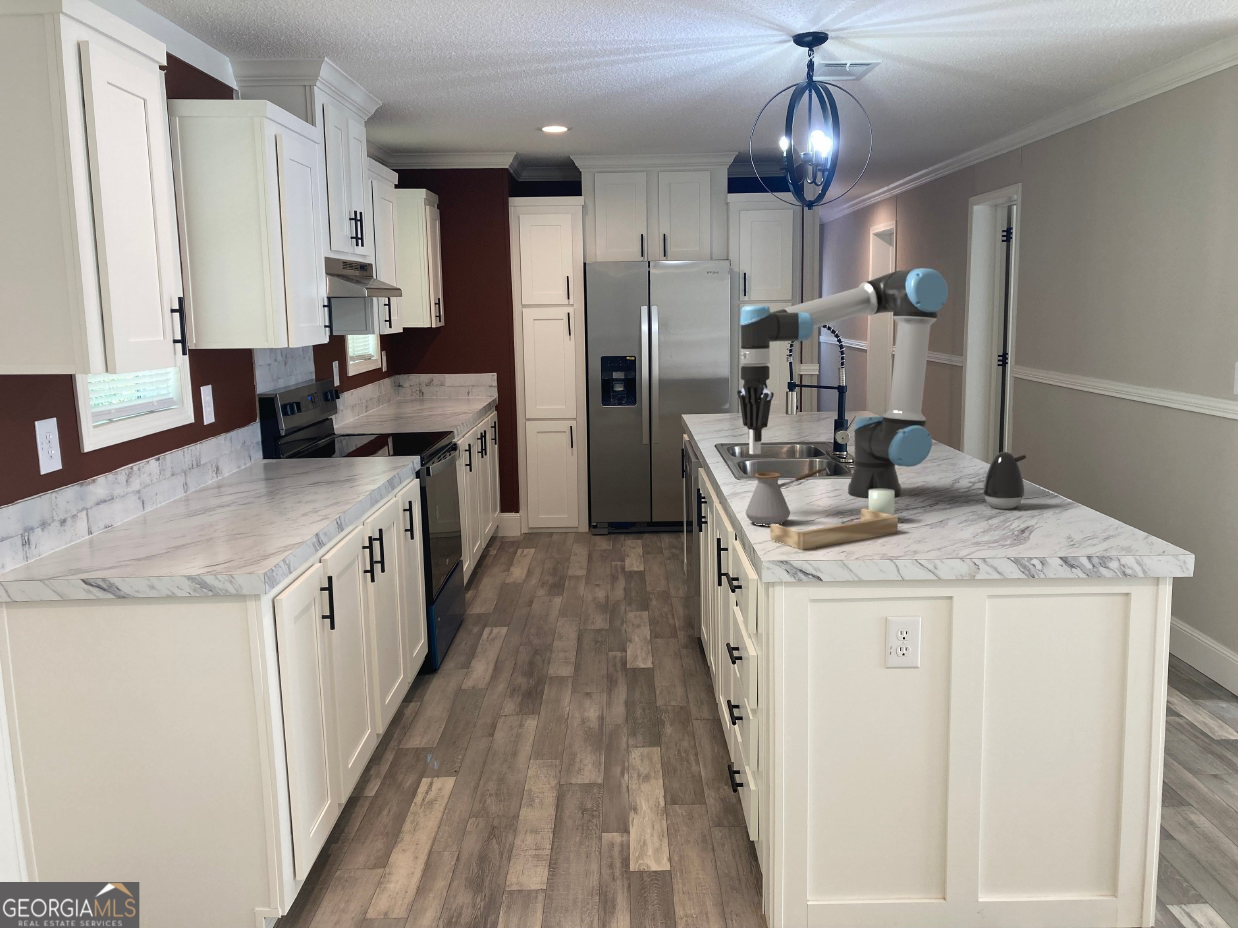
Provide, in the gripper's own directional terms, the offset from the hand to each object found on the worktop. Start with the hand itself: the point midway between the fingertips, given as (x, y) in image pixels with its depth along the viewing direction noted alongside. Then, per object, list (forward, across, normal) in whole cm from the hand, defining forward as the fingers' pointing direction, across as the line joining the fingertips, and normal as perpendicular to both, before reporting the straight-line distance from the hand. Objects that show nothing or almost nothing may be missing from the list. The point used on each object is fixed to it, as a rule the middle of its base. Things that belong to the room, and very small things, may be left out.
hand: (755, 453), depth 249 cm
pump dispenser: (+17, +32, +59) cm, 69 cm away
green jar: (+17, +25, +21) cm, 37 cm away
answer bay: (+17, +31, 0) cm, 35 cm away
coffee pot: (+17, +13, 0) cm, 21 cm away
